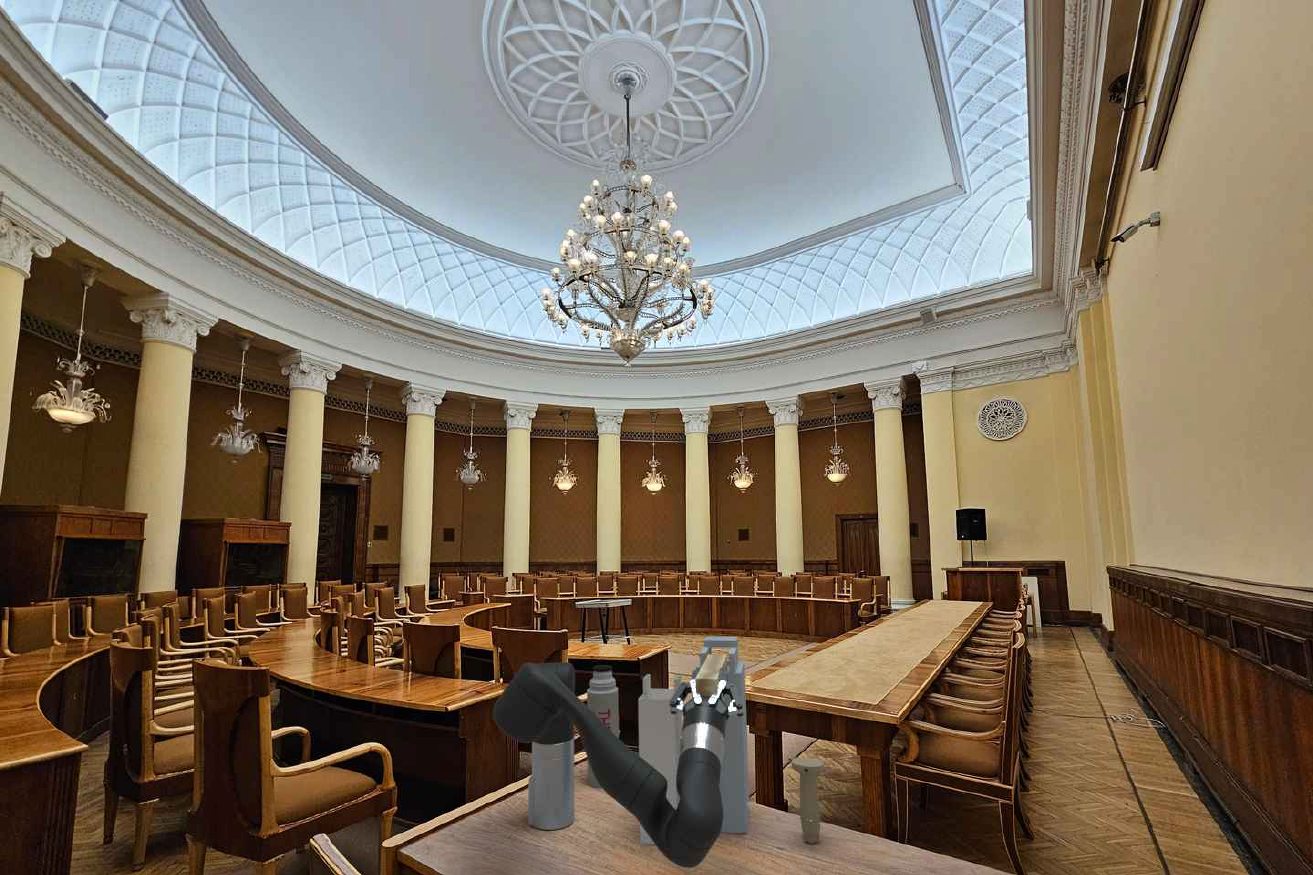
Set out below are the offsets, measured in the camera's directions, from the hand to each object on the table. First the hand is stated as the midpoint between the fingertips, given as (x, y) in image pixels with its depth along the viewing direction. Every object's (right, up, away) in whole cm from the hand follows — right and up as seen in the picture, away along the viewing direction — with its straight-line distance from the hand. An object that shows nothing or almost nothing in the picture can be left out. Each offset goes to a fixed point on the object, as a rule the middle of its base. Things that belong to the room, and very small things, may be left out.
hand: (710, 671), depth 128 cm
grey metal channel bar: (-9, -37, +8) cm, 39 cm away
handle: (+21, -36, +4) cm, 42 cm away
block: (+1, -4, +3) cm, 5 cm away
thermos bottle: (-24, -41, +37) cm, 60 cm away
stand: (+4, -37, +14) cm, 40 cm away
